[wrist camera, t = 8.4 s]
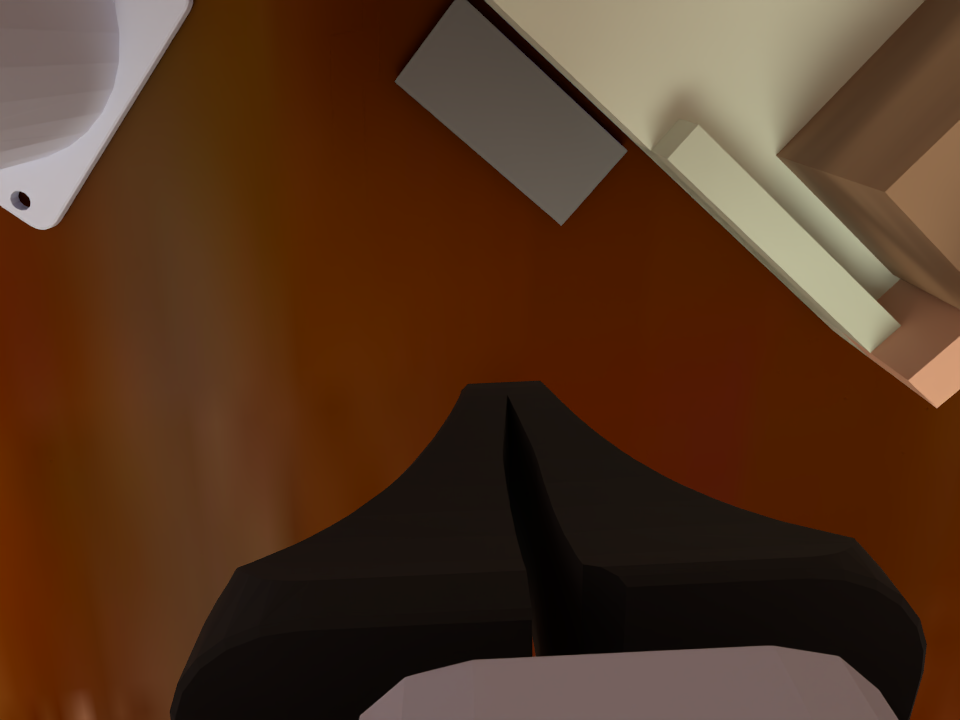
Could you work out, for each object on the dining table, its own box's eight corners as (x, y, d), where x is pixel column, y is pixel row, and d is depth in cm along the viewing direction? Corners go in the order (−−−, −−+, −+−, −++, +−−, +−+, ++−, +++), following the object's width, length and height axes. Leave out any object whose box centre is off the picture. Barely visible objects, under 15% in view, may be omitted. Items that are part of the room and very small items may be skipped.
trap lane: (404, -76, 17) (385, -121, 13) (666, -455, 15) (766, -690, 10) (833, 331, 22) (936, 408, 18) (1088, 97, 20) (1290, 114, 15)
